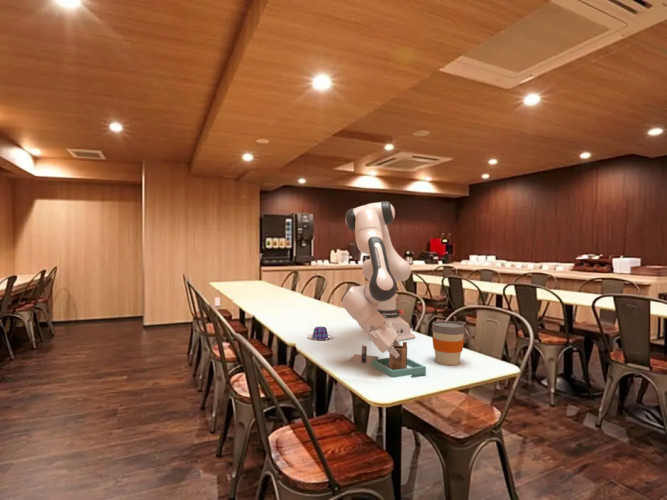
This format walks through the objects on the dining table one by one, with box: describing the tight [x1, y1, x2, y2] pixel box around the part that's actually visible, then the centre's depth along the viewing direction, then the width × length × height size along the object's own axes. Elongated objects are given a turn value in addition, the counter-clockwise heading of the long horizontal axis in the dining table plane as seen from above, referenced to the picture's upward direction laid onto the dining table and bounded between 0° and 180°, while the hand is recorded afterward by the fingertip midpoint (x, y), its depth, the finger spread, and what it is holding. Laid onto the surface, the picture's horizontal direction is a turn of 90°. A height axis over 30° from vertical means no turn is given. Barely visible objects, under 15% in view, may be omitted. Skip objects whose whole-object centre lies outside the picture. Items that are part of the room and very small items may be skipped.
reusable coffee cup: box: [431, 320, 466, 366], centre depth 154 cm, size 13×13×15 cm
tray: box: [371, 357, 427, 378], centre depth 141 cm, size 14×14×3 cm
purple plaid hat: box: [307, 326, 334, 341], centre depth 189 cm, size 12×12×5 cm
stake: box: [348, 345, 380, 365], centre depth 152 cm, size 10×10×6 cm
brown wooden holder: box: [388, 341, 408, 370], centre depth 141 cm, size 6×6×10 cm
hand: (400, 353), depth 141 cm, fingers open, 7 cm apart
